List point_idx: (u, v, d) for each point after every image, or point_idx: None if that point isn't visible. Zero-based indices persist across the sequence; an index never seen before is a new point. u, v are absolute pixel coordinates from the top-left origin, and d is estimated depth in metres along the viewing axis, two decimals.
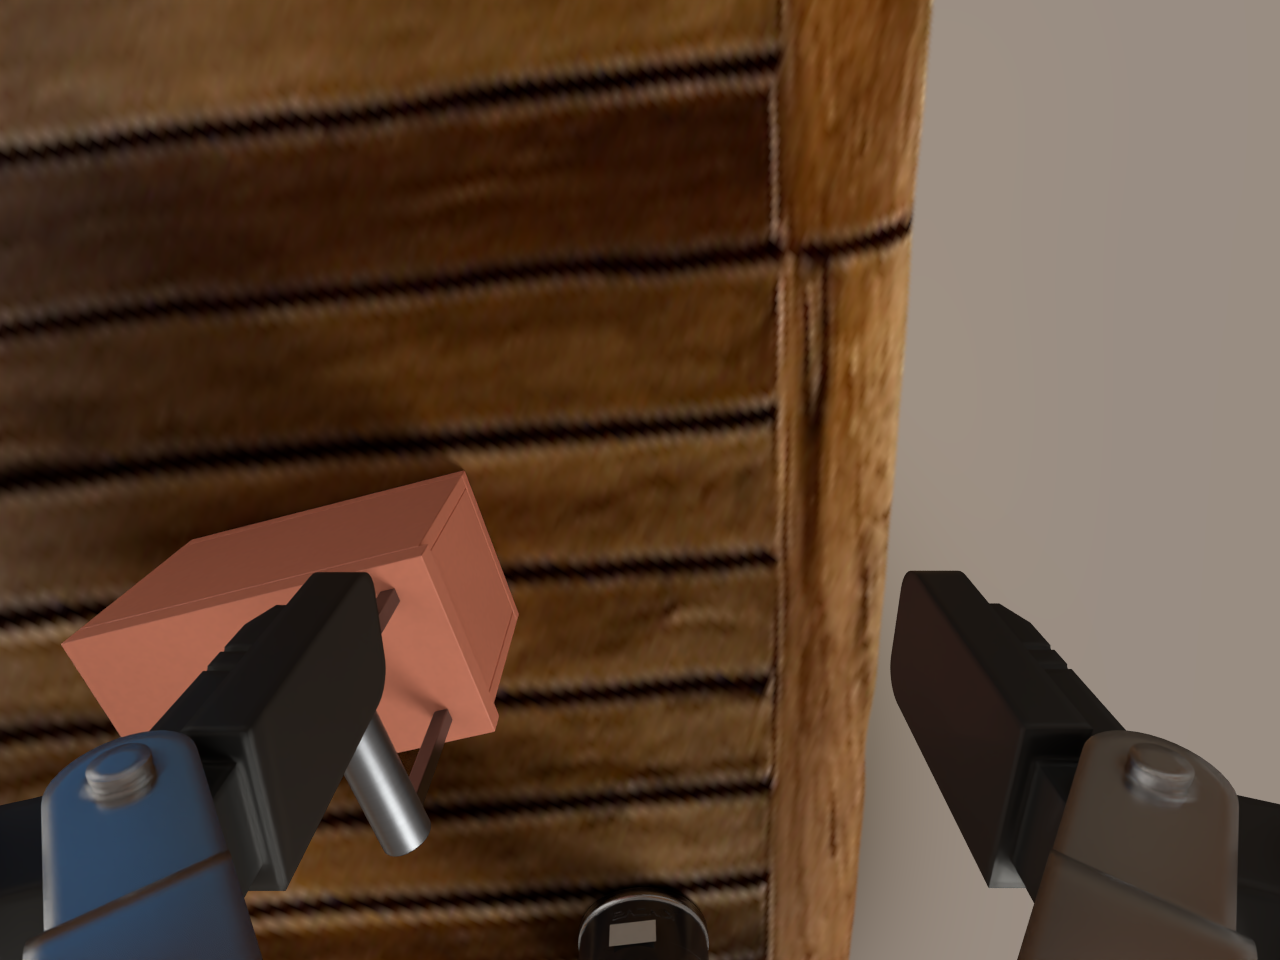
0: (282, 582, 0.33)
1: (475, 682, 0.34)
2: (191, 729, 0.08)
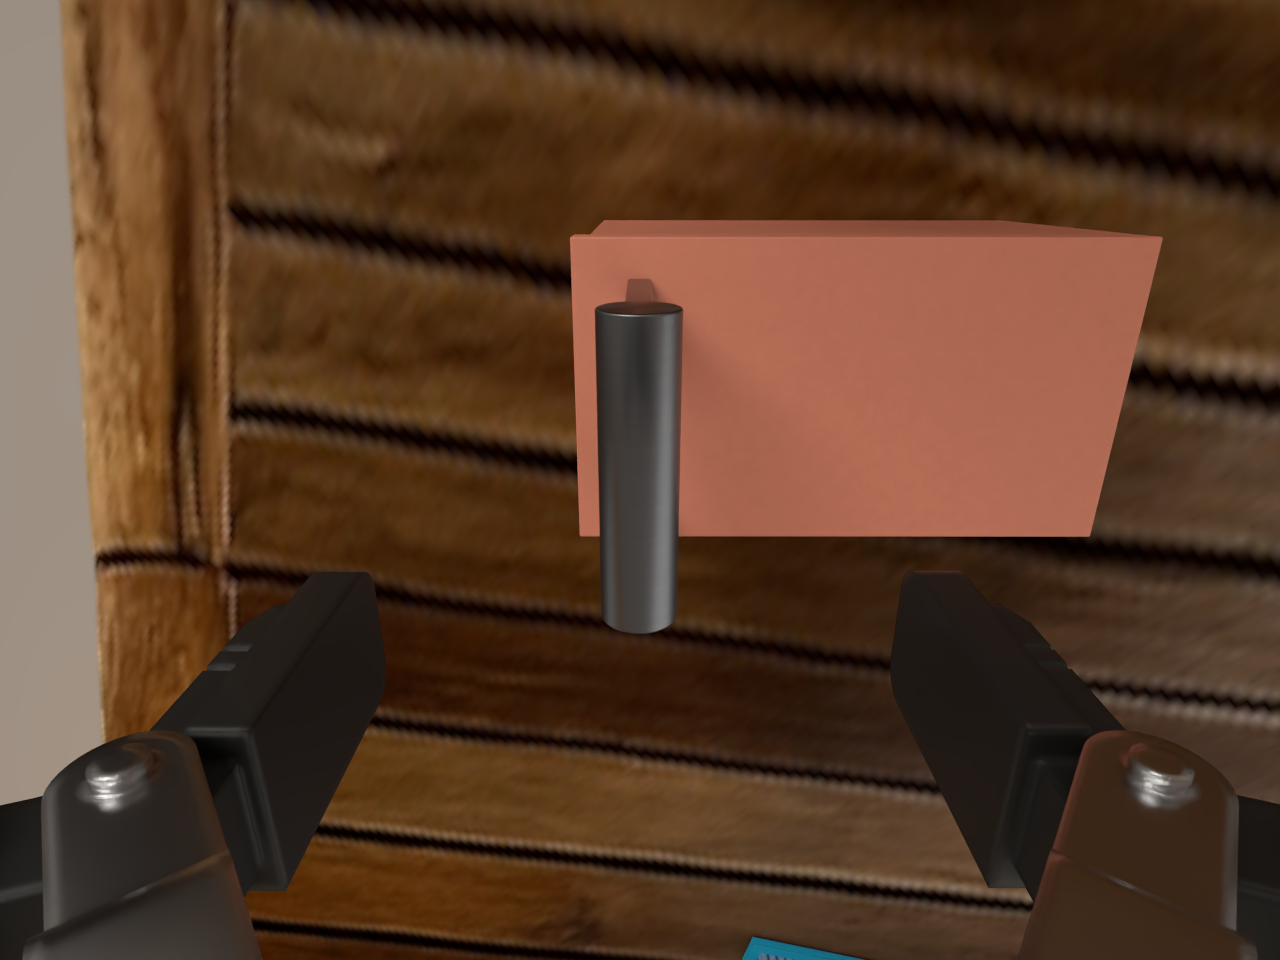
0: None
1: (573, 333, 0.23)
2: (191, 729, 0.08)
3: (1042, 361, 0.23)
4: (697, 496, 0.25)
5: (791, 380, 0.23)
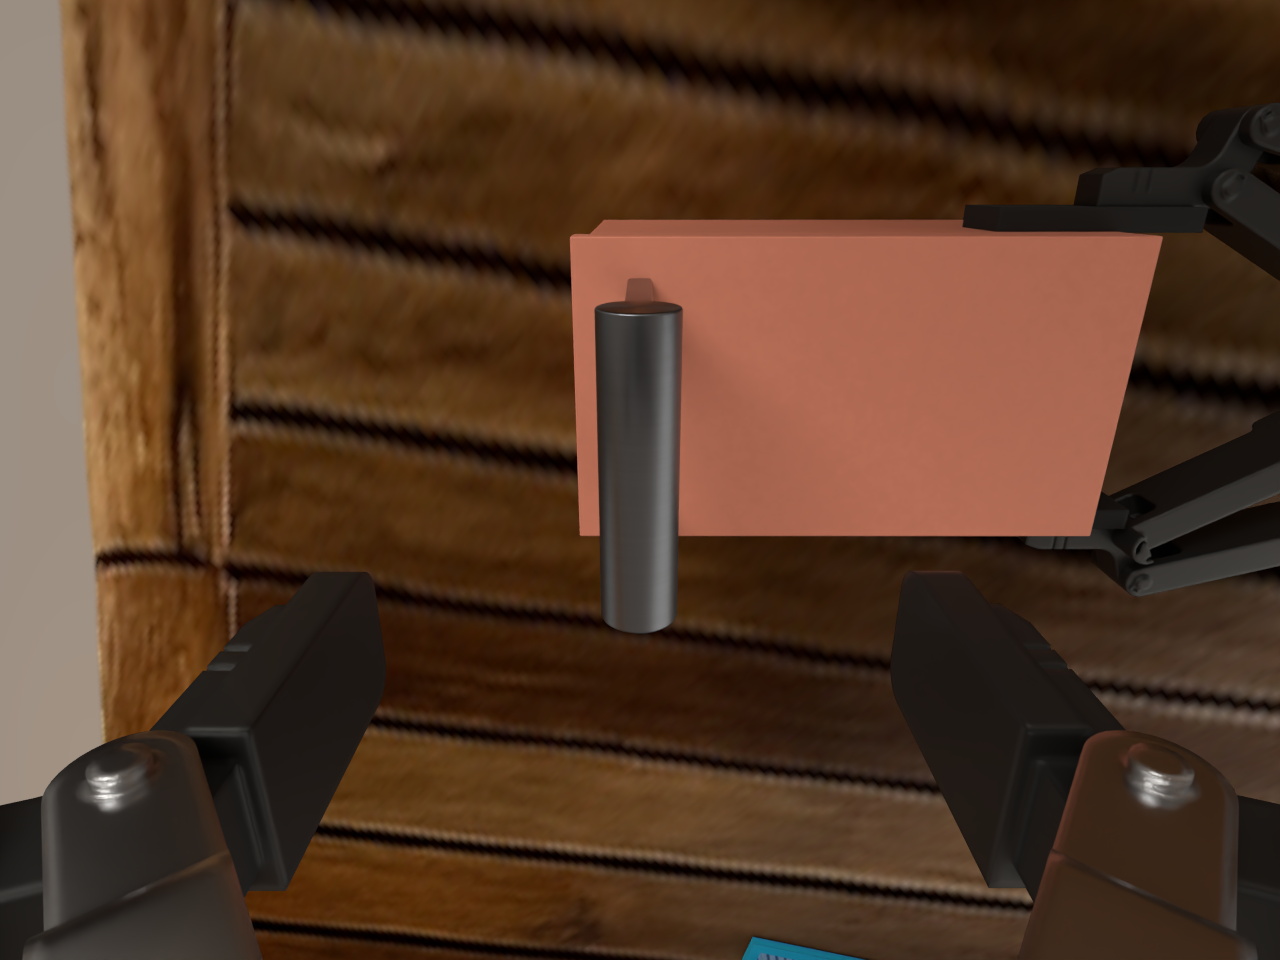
0: None
1: (573, 332, 0.23)
2: (191, 729, 0.08)
3: (1042, 360, 0.23)
4: (697, 496, 0.25)
5: (791, 379, 0.23)
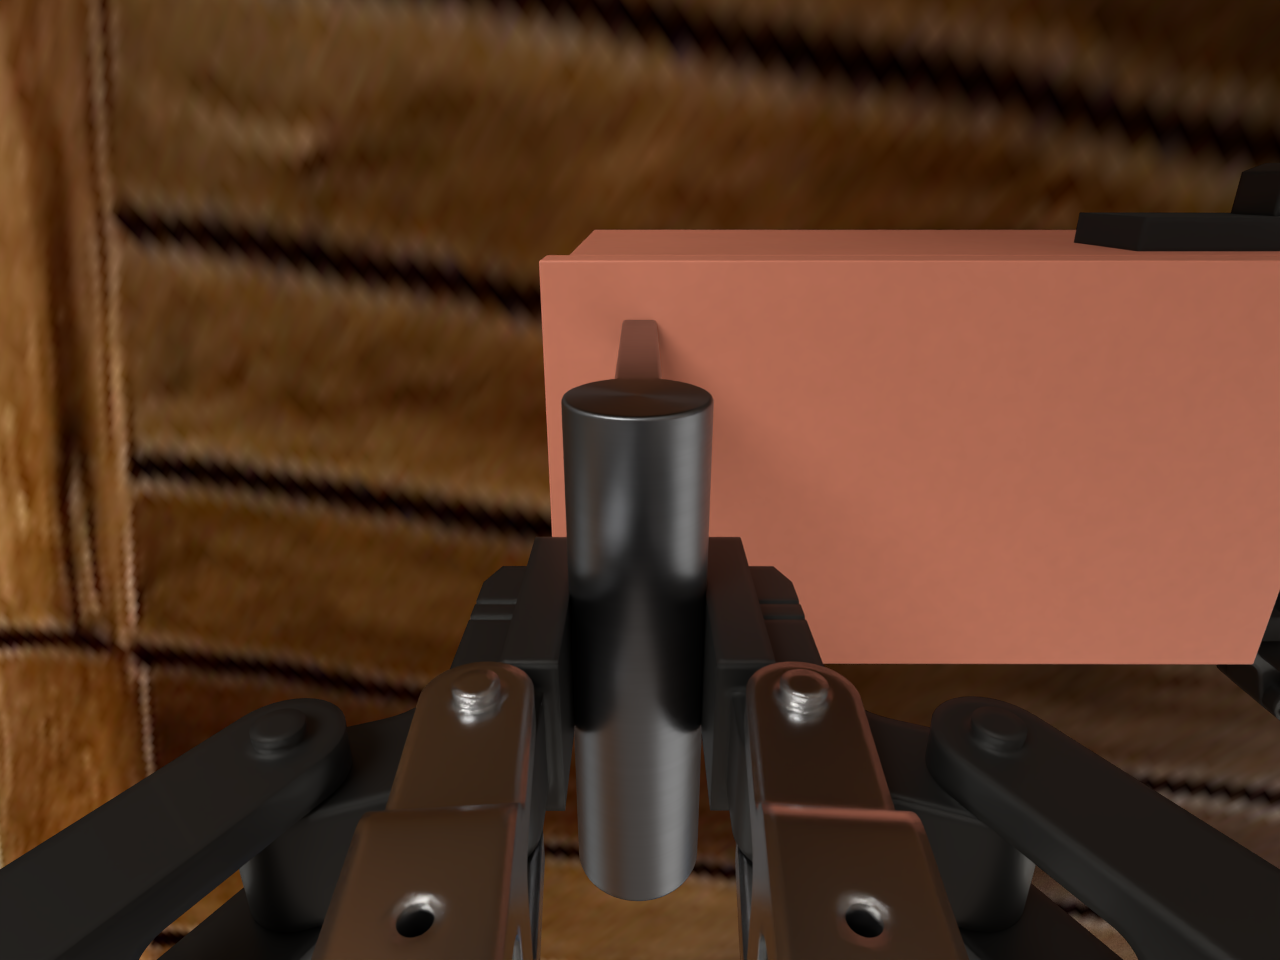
0: None
1: (545, 394, 0.16)
2: (506, 662, 0.09)
3: (1207, 434, 0.16)
4: None
5: (853, 459, 0.17)
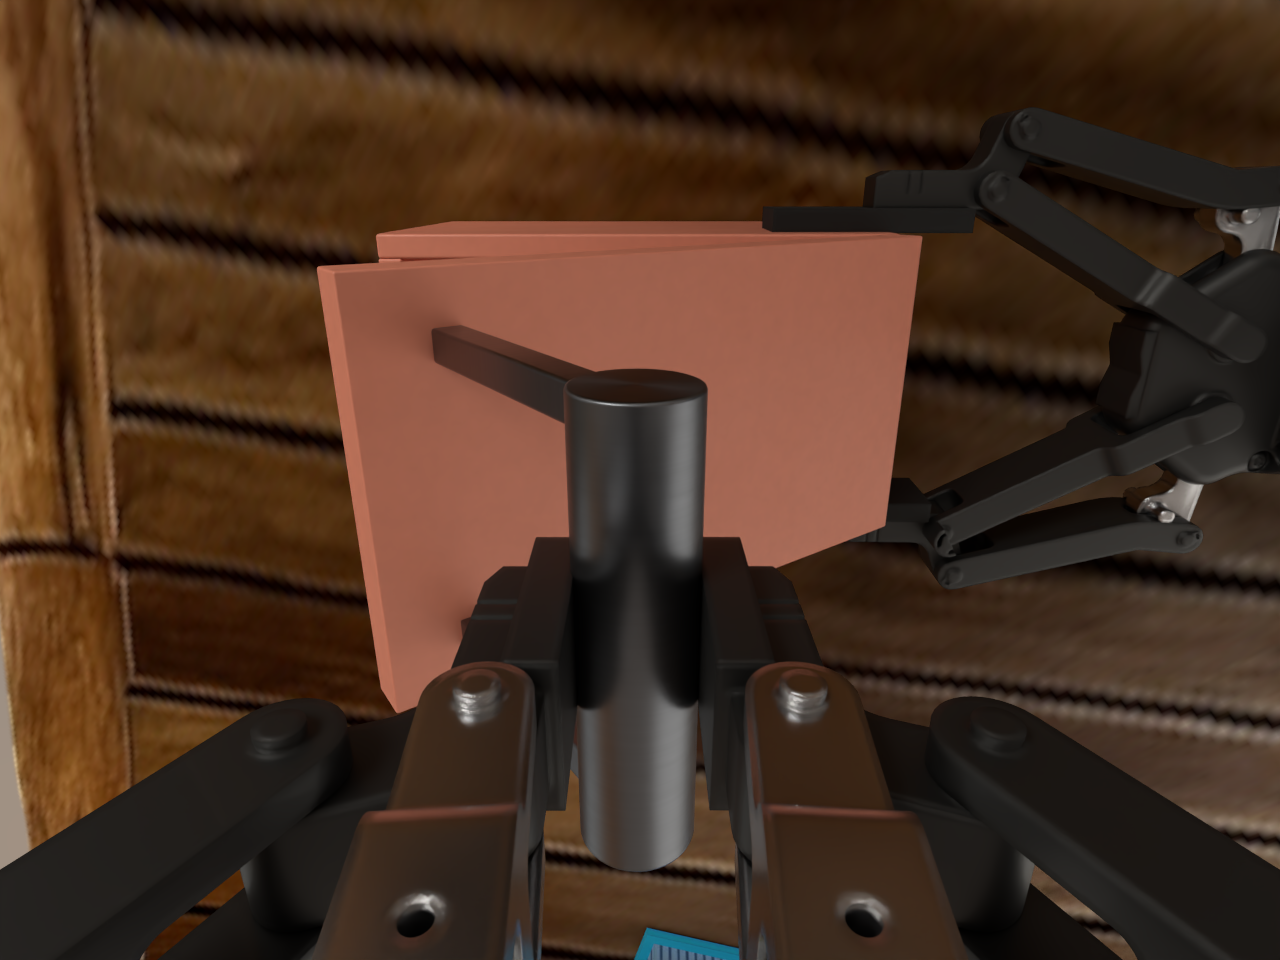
0: None
1: (352, 421, 0.14)
2: (506, 661, 0.09)
3: (849, 367, 0.22)
4: None
5: None
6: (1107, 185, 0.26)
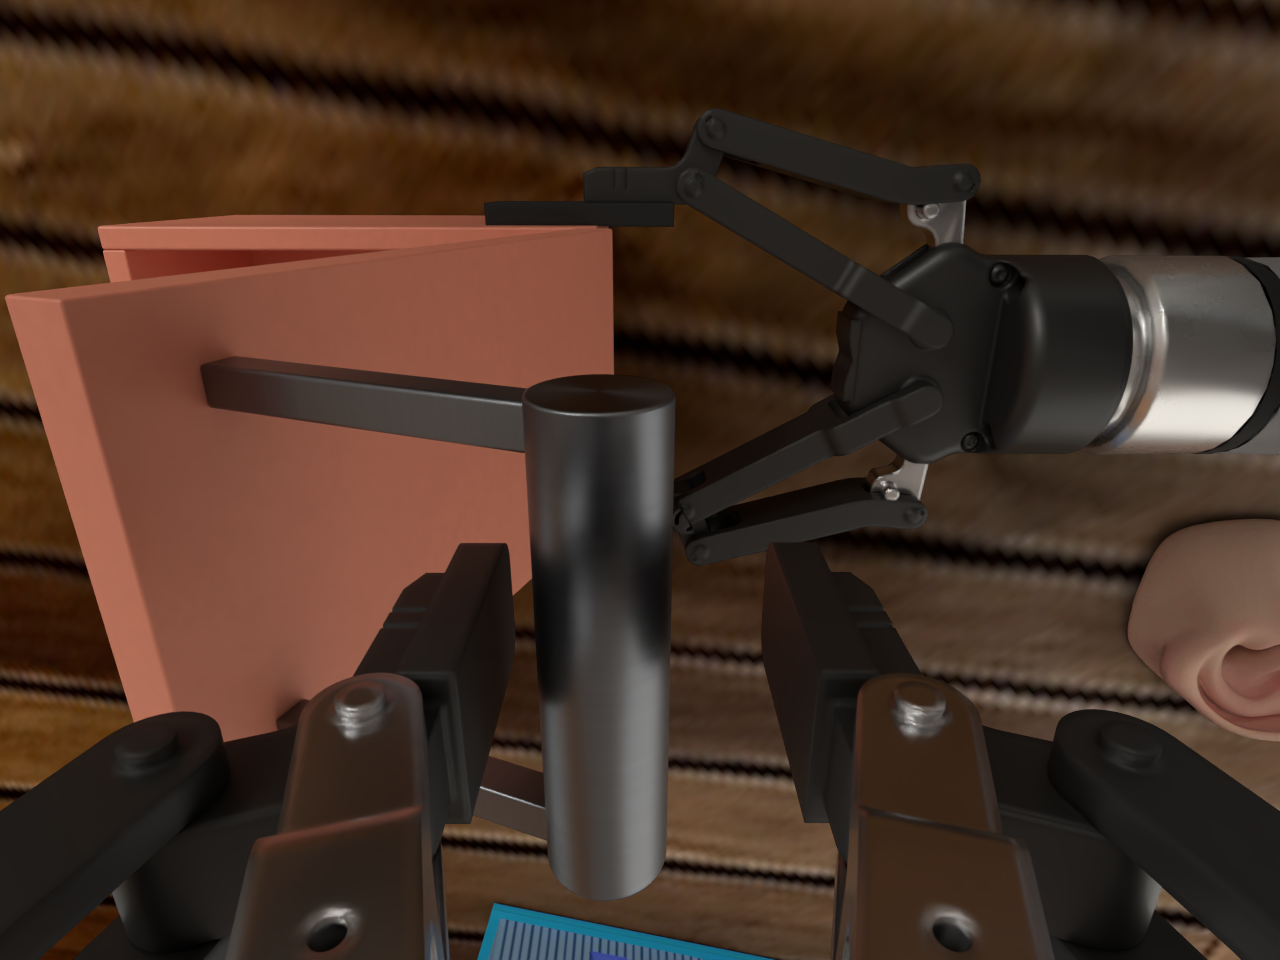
0: None
1: (110, 504, 0.10)
2: (402, 673, 0.08)
3: (577, 357, 0.23)
4: None
5: (426, 451, 0.17)
6: (813, 182, 0.27)
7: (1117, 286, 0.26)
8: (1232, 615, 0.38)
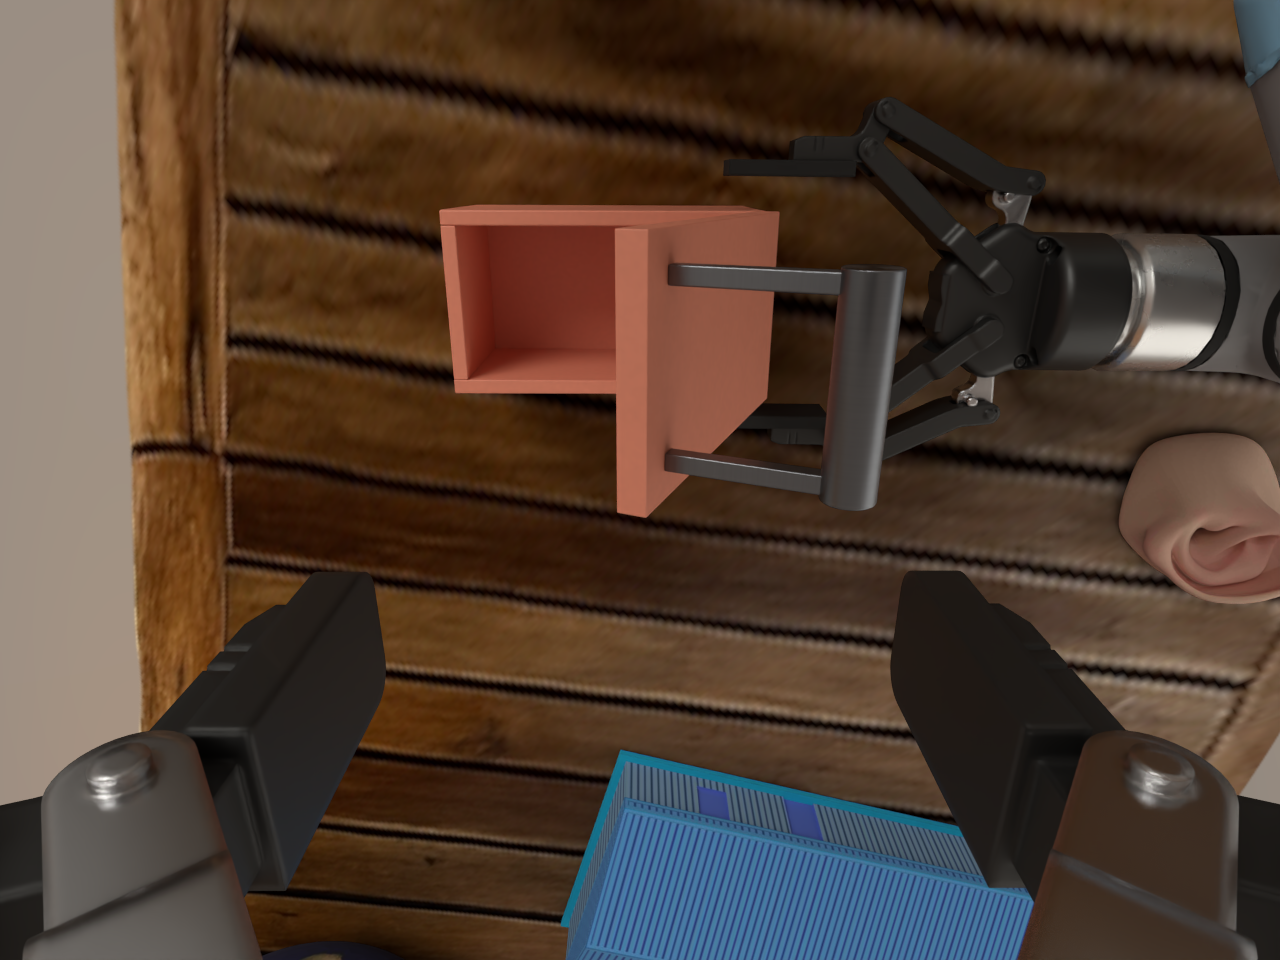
0: None
1: (643, 322, 0.24)
2: (190, 729, 0.08)
3: (761, 292, 0.36)
4: (685, 445, 0.29)
5: (711, 331, 0.30)
6: (934, 163, 0.40)
7: (1122, 252, 0.39)
8: (1196, 504, 0.52)
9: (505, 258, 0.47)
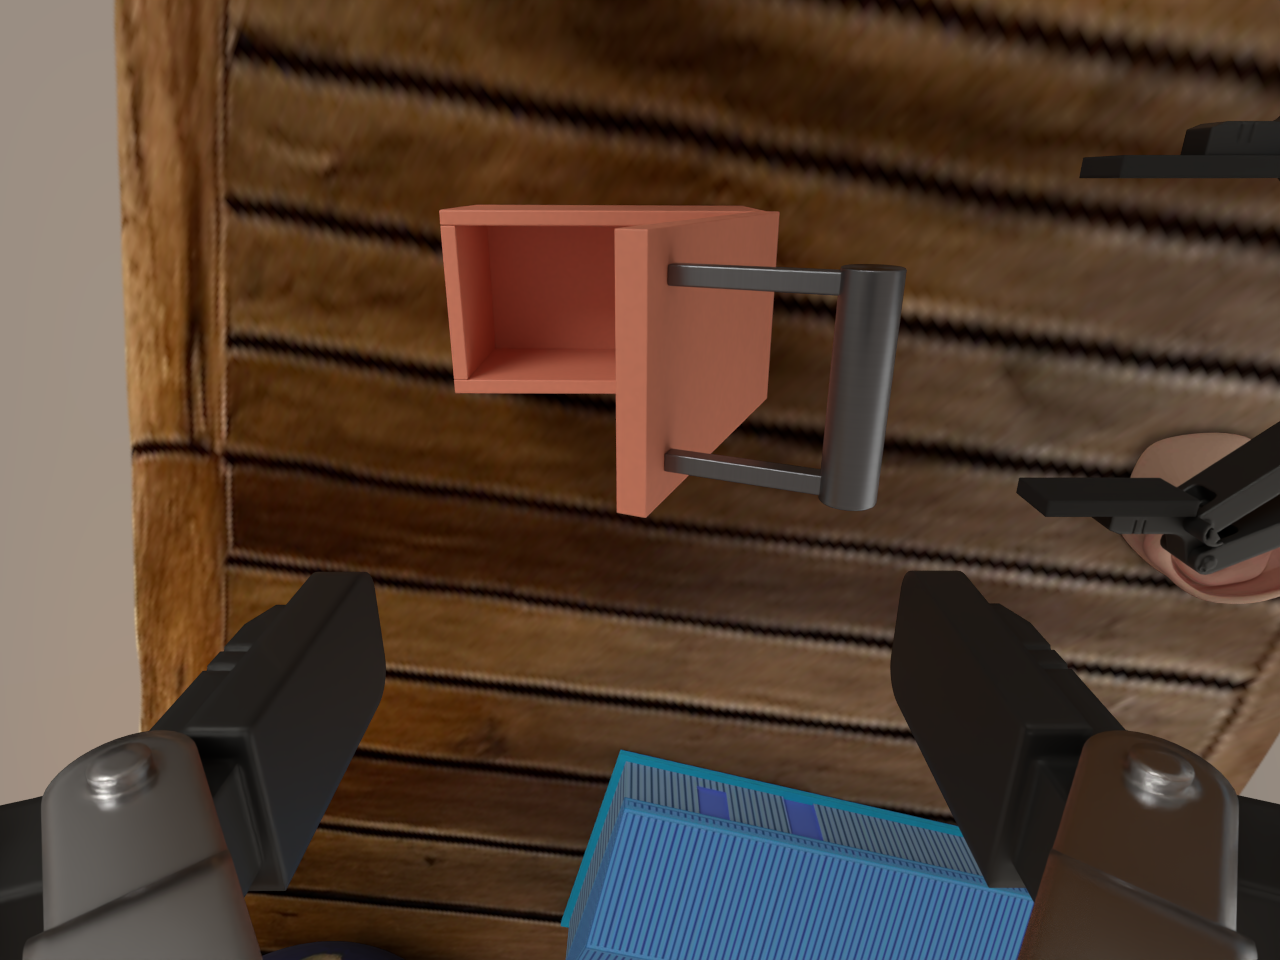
0: None
1: (643, 322, 0.24)
2: (190, 729, 0.08)
3: (761, 293, 0.36)
4: (685, 445, 0.29)
5: (711, 331, 0.30)
6: None
7: None
8: None
9: (505, 258, 0.47)
